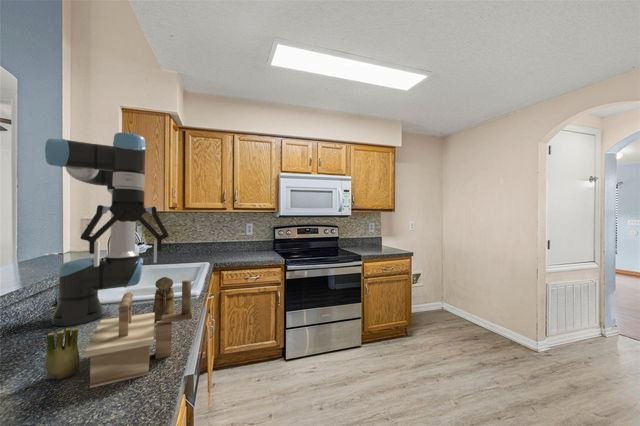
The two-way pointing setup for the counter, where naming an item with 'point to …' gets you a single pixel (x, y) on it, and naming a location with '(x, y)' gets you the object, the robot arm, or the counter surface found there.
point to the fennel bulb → (62, 354)
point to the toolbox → (129, 359)
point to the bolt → (186, 305)
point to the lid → (122, 331)
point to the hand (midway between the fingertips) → (127, 264)
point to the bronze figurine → (163, 298)
